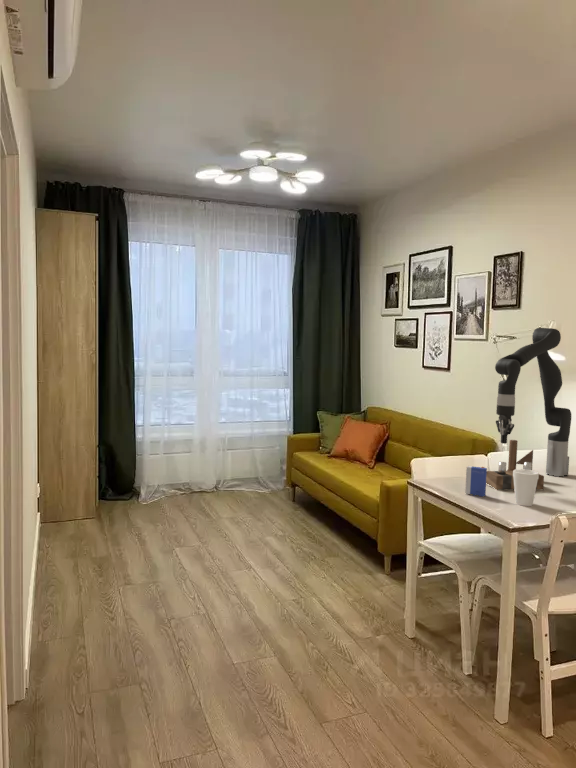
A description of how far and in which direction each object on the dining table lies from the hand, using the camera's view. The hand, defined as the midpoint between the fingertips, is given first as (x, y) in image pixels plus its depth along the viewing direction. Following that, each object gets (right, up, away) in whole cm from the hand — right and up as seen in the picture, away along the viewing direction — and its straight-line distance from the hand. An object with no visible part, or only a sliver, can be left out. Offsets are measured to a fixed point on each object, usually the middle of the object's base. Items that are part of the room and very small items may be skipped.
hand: (503, 443), depth 261 cm
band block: (+5, -20, +2) cm, 21 cm away
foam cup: (-1, -22, -26) cm, 34 cm away
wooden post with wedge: (+14, -19, +19) cm, 31 cm away
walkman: (-17, -21, -14) cm, 30 cm away
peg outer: (0, -15, +1) cm, 15 cm away
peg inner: (+11, -15, +3) cm, 19 cm away
